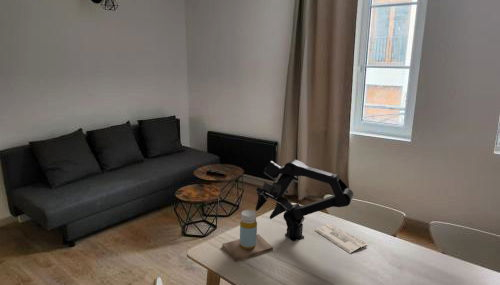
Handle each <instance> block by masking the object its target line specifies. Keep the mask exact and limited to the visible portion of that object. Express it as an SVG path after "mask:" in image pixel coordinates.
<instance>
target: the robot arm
mask: <svg viewBox="0 0 500 285" xmlns="http://www.w3.org/2000/svg"><path fill="white" fill-rule="evenodd" d="M263 174H265V175H266V176H268V177H269V178H271V179H272V180H276V179H277V180H276V181H274V182H273V183H269V182H266V181H263V185H262V186H257V187H256V189H255V192H256V194H257V201H256V206H255V210H254V211H255V212H258V211H259V210H260V209H261V208H262V206H264V205H265V203H266V202H267V201H268V199H271V200H272V201H274V202H275V203H276V204H275V207H274V209H273V210H272V212H271V214H270V215H269V219H270V220H272V219H274V218H275V217H277V216H279V215H281V214H283V220H284V221H285V223H286V233H284V236H286V237H287V238H288V239H290V240H291V241H292V242H295V241H299V240H301V239H305V236H304V235H303V227H304V224H303V222H304V220H305V219H306V218H305V216H307V215H311V214H314V213H317V212H320V211H323V210H327V209H330V208H345V207H348V206H349V205H350V204H351V202H352V200H353V199H354V191H352V189H350V188H349V186H348V185H347V184H346V183H345V182H344V181H343V180H342V179H341V177H340V175H338V173H332V172H329V171H325V170H322V169H319V168H315V167H311V166H308V165H306V164H305V163H304V162H303V161H300V160H298V159H295V158H293V159H291V160H288V161H287V163H284V164H283V165H282V166H280V165H279V164H278V163H275V162H274V161H273V160H270V161H269V163H268V164H267V166H266V167H265V168H264V170H263ZM298 177H306V178H308V179H312V180H315V181H317V182H322V183H325V184H328V185H329V186H330V188H331V190H332V192H333V194H332V195H329V196H328V197H326V198H321V199H319V200H315V201H313V202H310V203H307V204H303V205H300V203H299V202H296V203H294V204H292V202H290V201H289V199H288V198H285V197H284V195H285V194H288V192H289V191H288V189H289V188H290V186H291V184H292V183H293V182H295V183H299V181H298V180H299V179H298Z"/></svg>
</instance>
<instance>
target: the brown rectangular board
mask: <svg viewBox="0 0 500 285" xmlns="http://www.w3.org/2000/svg"><path fill="white" fill-rule="evenodd" d="M221 245H222V246H221V247H222V249H223V250H224V251H225V252H226V253H227V255H228V256H229V257H230V258H231V259H232V260H233V261H234V262H235V263H236V262H238V261H242V260H246V259H250V258H253V257H255V256H258V255H262V254H265V253H269V252H272V251H274V247H273V246H272V245H271V244H270V243H269V242H268V241H267V240H266V239H265V238H264V237H262V235H261V234H259V233H257V239H256V246H255V247H254V248H252V249H244V248H242V247H241V245H240V238H239V239H234V240H231V241H228V242H225V243H222V244H221Z"/></svg>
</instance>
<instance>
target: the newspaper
mask: <svg viewBox="0 0 500 285" xmlns="http://www.w3.org/2000/svg"><path fill="white" fill-rule="evenodd" d="M314 232H316V233H317V234H319V236H322V237H324V239H326V240H328V241H330V242H331V243H333V244H334V245H336V246H337V247H339V248H340V247H341V248H340V249H342V250H343V249H344V250H343V251H345V252H346V251H347V253H348V254H352V253H353V252H354V251H356V250H358V249H361V248H360V247H365V248H367V247H368V243H366V242H365V241H363V240H361V239H359V238H357V237H355V236H353V235H352V234H350V233H348V232H346V231H344V230H342V229H340V228H339V227H337V226H335V225H334V224H332V223H327V224H325V225H322V226H320V227H318V228H315V230H314Z"/></svg>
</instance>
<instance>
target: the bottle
mask: <svg viewBox="0 0 500 285" xmlns="http://www.w3.org/2000/svg"><path fill="white" fill-rule="evenodd" d="M240 216H241V217H240V218H241V220H240V222H239V223H240V224H239V239H240V245H241V247H242V248H244V249H252V248H254V247H255V246H256V239H257V234H258V232H257V231H258V222H257V211H256V210H253V209H245V210H242V211H241V215H240Z"/></svg>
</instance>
